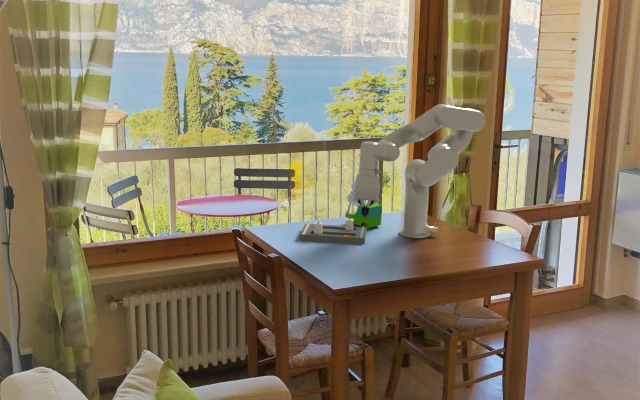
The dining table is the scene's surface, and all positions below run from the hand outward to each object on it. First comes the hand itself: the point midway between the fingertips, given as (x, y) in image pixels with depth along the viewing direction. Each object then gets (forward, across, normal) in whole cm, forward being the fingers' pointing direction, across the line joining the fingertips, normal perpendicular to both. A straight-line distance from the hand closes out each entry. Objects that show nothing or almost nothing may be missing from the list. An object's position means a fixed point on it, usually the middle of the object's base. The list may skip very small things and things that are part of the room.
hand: (364, 216), depth 261 cm
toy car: (+9, +1, -15) cm, 18 cm away
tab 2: (+7, +6, 0) cm, 9 cm away
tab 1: (+8, +18, +8) cm, 21 cm away
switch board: (+9, +12, +4) cm, 15 cm away
